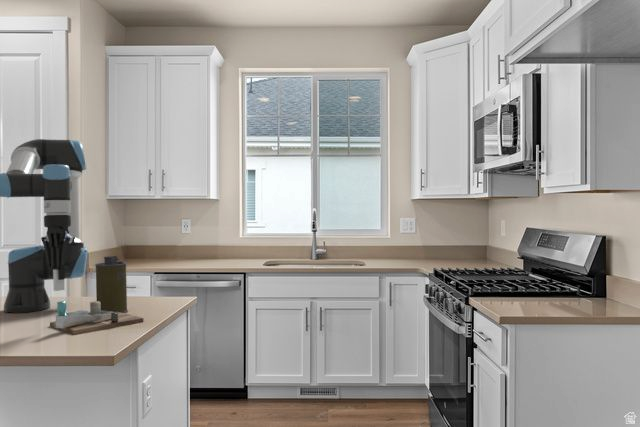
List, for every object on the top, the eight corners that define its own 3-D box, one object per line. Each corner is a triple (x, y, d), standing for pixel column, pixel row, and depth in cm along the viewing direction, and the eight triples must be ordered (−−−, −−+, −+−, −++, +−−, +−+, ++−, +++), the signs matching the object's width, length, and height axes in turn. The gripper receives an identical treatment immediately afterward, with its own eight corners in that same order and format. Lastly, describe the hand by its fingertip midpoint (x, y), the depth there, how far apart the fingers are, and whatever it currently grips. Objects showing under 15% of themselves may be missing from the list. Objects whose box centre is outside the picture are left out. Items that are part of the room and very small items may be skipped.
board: (49, 326, 167) (49, 303, 167) (116, 314, 184) (116, 294, 184) (74, 334, 155) (74, 310, 155) (143, 321, 172) (143, 299, 172)
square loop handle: (97, 316, 174) (96, 293, 174) (114, 317, 171) (114, 294, 171) (49, 326, 159) (49, 301, 159) (67, 329, 156) (67, 303, 155)
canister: (116, 315, 182) (115, 257, 182) (89, 314, 185) (88, 257, 184) (134, 309, 193) (132, 254, 193) (108, 309, 195) (107, 254, 195)
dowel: (110, 326, 166) (109, 313, 166) (116, 324, 167) (116, 312, 167) (113, 326, 164) (112, 314, 164) (119, 325, 166) (119, 313, 166)
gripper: (32, 215, 165) (34, 291, 165) (60, 214, 159) (62, 292, 159) (54, 214, 172) (56, 287, 171) (82, 213, 166) (83, 289, 166)
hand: (59, 290), depth 165 cm, fingers closed
